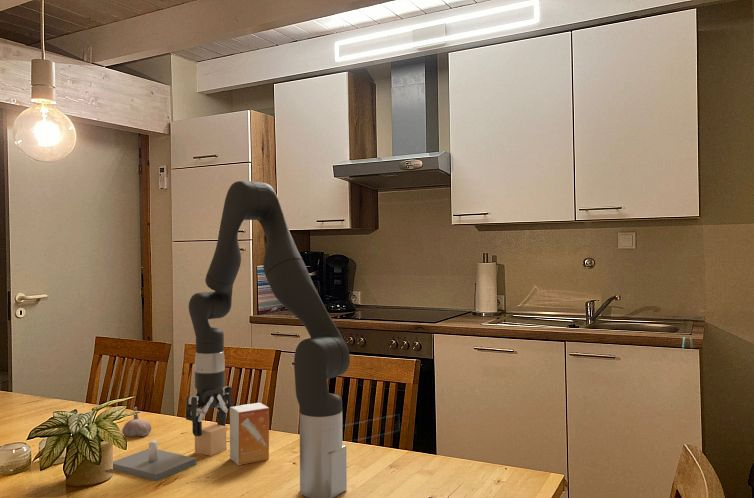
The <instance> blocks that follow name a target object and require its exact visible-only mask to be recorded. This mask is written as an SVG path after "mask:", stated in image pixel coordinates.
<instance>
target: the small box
mask: <svg viewBox="0 0 754 498" xmlns="http://www.w3.org/2000/svg"><path fill="white" fill-rule="evenodd" d="M229 459H230V460H232V461H233V463H235V464H237V465H238V466H243V465H246V464H251V463H256V462H262V461H268V460H269V459H270V407H268V406H267V405H265V404H263V403H261V402H260V401H259V402H254V403H248V404H241V405H235V406H232V407H230V409H229Z"/></svg>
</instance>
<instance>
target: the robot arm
mask: <svg viewBox="0 0 754 498" xmlns="http://www.w3.org/2000/svg"><path fill="white" fill-rule="evenodd" d="M244 221H258V223H259V224H260V226H261V228H262V230H263V233H264V236H265V238H266V239H265V240H266V246H265V251H264V256H263V264H262V265H263V267H262V268H263V272H264V275H265V278H266V280H267V282H268V285H269V287H270V290H271V291H272V294H273V295H274V297H275V299H277V301H279V303H280V304H282V305H283V306H284V307H285V309H287V310H288V311H289V313H292V314H293V316H294V317H295V318H297V319H298V320H299V321H300V322H301V324H302V325H303V327H305V330H306V331H307V333H308V335H309V338H305V339H303V340H301V341H299V343H298V345H297V346H296V348H295V352H294V356H293V357H294V359H293V366H294V367H293V369H294V383H295V385H294V386H295V396H296V397H295V398H296V399H297V400H296V401H297V403H298V407H299V409H298V410H299V493H300V495H302V496H304V497H306V498H336V497H337V496H339V495H340V494H342V493H344V492H345V491H347V489H348V487H347V486H348V485H347V482H348V481H347V478H348V477H347V473H348V471H347V469H348V467H347V465H348V464H347V463H348V462H347V446H346V445H344V444H343V399H342V397H341V396H340V395H339V394H334V393H330V391H329V388H328V379H332V378H336V377H340V376H341V375H343V374H345V373H346V372H347V371H348V370H349V367H350V362H351V361H350V360H351V356H350V351H349V347H348V346H347V343H346V341H345V339H344V338H343V335H342V334H341V333H340V330H339V329H338V328H337V326H336V324H335V322H334V321H333V319H332V317H331V315H330V314H329V312H328V310H327V308H326V306H325V304H324V303H323V301H322V298H321V297H320V295H319V293H318V290H317V289H316V287H315V285H314V282H313V280H312V278H311V275H310V273H309V271H308V267H307V266H306V264H305V262H304V260H303V257H302V256H301V253H300V251H299V250H298V248H297V245H296V243H295V240H294V238H293V236H292V234H291V232H290V228H289V227H288V224H287V221H286V217H285V215H284V211H283V209H282V206H281V202H280V200H279V198H278V196H277V193H276V190H274V188H273V187H272V186H271V185H270V184H268V183H267V182H262V181H252V180H251V181H248V180H238V181H235V182H233V183H232V184H231V185H230V186H229V188H228V190H227V193H226V195H225V199H224V204H223V210H222V214H221V220H220V223H219V224H220V225H219V231H218V236H217V241H216V246H215V250H214V254H213V256H212V259H211V262H210V264H209V267H208V270H207V271H206V272H207V273H206V275H205V280H204V281H205V285H206V286H207V287H208V288H209V289H211V290H212V291H205V292H196V293H194V294H193V295H191V297H190V299H189V302H188V312H189V313H188V314H189V316H190V319H191V323H192V327H193V330H194V335H195V355H194V356H195V358H194V387H195V390H196V394H195V395H193V396H191V395H187V397H186V402H185V403H186V404H185V405H186V406H185V420H186V421H191V422H192V426H191V427H192V431H191V432H192V434H193V436H194V437H195V436H198V437H199V436H201V435H202V426H203V425H202V424H203V423H202V420H203V418H204V416H205V415H206V414H207V413H208V411H209V410H211V409H213V408H215V409H216V411H217V412H216V413H217V415H216V417H217V419H216V420H217V423H216V425H222V426H226V424H227V413H228V411H229V410H230V407H233V391H232V390H233V389H232V386H227V385H225V384H226V374H225V372H226V371H225V370H226V364H225V363H226V360H225V359H226V358H225V350H224V349H225V344H224V342H225V341H224V340H225V336H224V335H225V334H224V330H222V328H219V327H211V325H210V323H209V320H214V319H221V318H224V317H226V316H227V315H228V314H229V313H230V311H231V309H232V298H233V288H234V283H235V281H236V278H237V276H238V273H239V270H240V268H241V262H242V254H241V249H240V245H239V240H238V234H239V232H240V231H239V230H240V228H241V226H242V223H243V222H244Z"/></svg>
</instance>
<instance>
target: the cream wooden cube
mask: <svg viewBox="0 0 754 498" xmlns="http://www.w3.org/2000/svg"><path fill="white" fill-rule="evenodd" d="M226 450H227V426H226V425H225V426H222V425H217V423H216V424H215V423H208V424H205V425H202V435H201V436H199V437H198V436H194V453H195V454H196V453H197V454H200V455H205V456H210V457H211V456H213V455H217V454H219V453H221V452H223V451H226Z"/></svg>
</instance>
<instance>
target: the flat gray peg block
mask: <svg viewBox="0 0 754 498" xmlns="http://www.w3.org/2000/svg"><path fill="white" fill-rule="evenodd" d="M158 448H159V447H158V440H156V439H155V440H150V441H148V448H146V449H143V450H141V451H138V452H135V453H132V454H130V455H127V456H124V457H122V458H119V459H116V460H113V461H112V462H113V470H112V471H116V472H120V473H125V474H128V475H131V476H136V477H140V478H142V479H146V480H150V481H151V480H152V481H155V482H158V481H160V480H163V479H165V478H167V477H170V476H172V475H174V474H177V473H179V472H182V471H184V470H186V469H189V468H190V467H193V466H196V465H197V458H196V457H191V456H188V455H183V454H179V453H174V452H171V451H166V450H162V449H158Z"/></svg>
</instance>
